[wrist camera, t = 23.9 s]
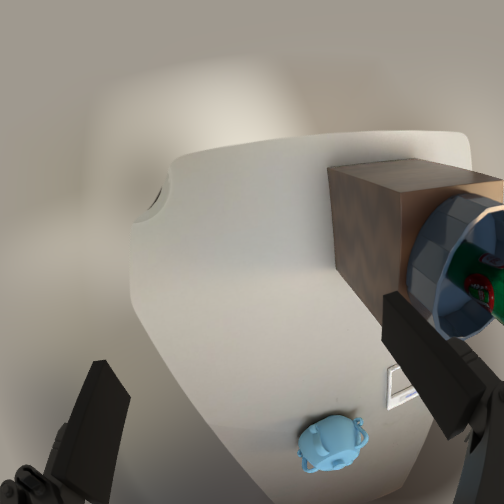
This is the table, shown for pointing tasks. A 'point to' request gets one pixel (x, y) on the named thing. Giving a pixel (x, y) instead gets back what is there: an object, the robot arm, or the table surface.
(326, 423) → the decorative pot
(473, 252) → the soda can
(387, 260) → the stand
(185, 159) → the table surface
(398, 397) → the photo frame
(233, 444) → the table surface
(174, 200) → the table surface
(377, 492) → the table surface
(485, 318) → the bowl
